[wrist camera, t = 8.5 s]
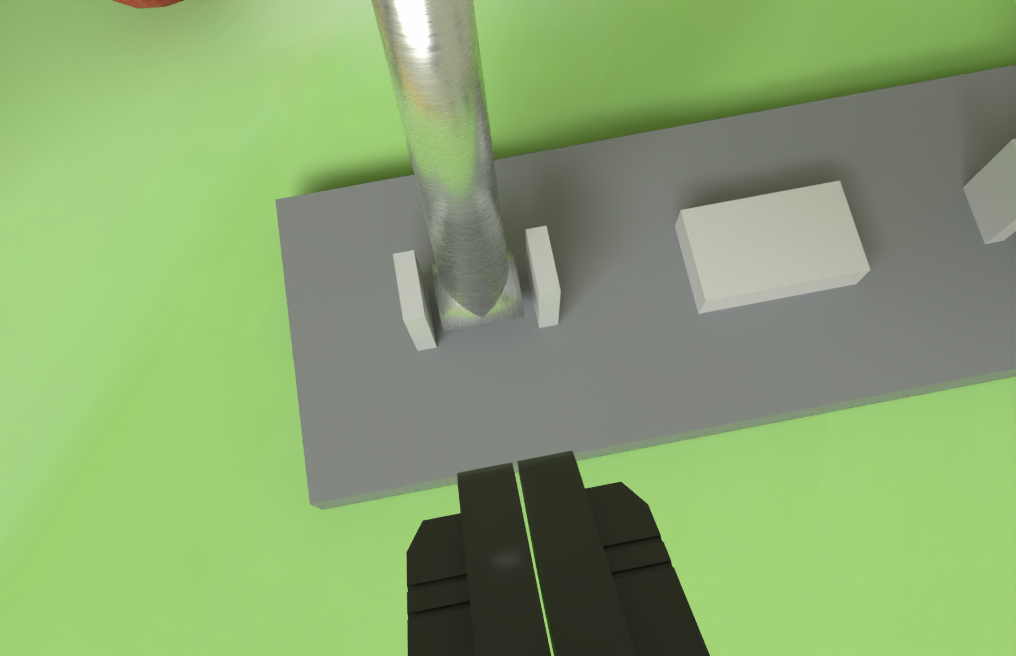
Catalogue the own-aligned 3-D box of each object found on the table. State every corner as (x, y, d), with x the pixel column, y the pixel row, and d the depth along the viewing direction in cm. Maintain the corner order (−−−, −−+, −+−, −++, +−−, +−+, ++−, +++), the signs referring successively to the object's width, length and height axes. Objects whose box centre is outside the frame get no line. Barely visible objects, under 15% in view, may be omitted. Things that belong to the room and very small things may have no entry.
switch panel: (1256, 329, 27) (1390, 279, 23) (322, 509, 27) (281, 491, 22) (1128, 65, 30) (1225, -24, 26) (288, 219, 30) (246, 153, 25)
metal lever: (550, 347, 25) (497, -341, 11) (429, 370, 25) (227, -296, 11) (528, 254, 27) (460, -426, 13) (417, 275, 27) (231, -388, 13)
